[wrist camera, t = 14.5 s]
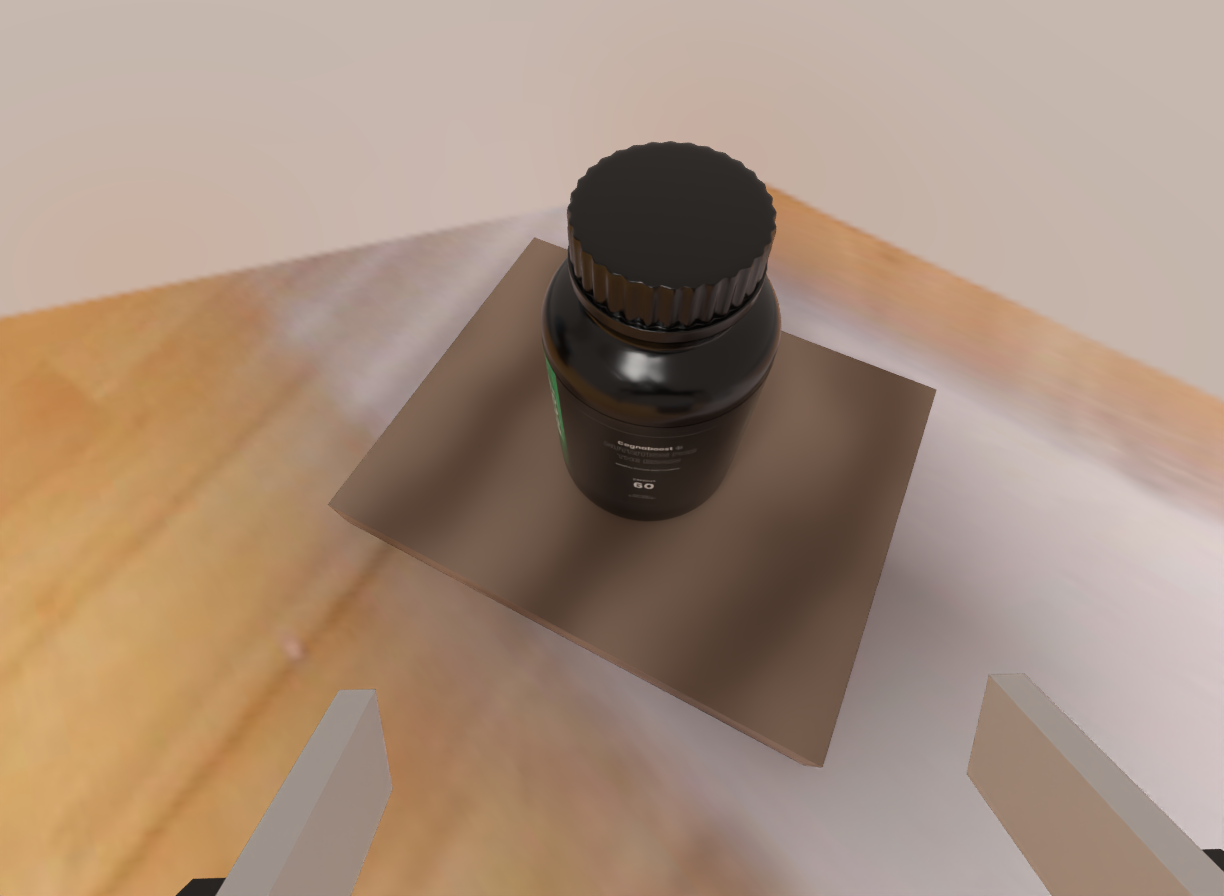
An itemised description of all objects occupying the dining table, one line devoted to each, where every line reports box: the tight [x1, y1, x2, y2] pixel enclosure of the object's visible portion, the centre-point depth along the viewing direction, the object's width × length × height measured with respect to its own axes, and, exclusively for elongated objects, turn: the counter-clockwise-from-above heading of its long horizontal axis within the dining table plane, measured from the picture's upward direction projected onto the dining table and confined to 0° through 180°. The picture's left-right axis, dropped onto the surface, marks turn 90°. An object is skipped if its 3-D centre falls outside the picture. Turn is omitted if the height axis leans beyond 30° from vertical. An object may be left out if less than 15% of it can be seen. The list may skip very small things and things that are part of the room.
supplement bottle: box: [541, 141, 781, 521], centre depth 19 cm, size 7×7×12 cm
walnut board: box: [328, 238, 936, 767], centre depth 25 cm, size 20×16×2 cm
